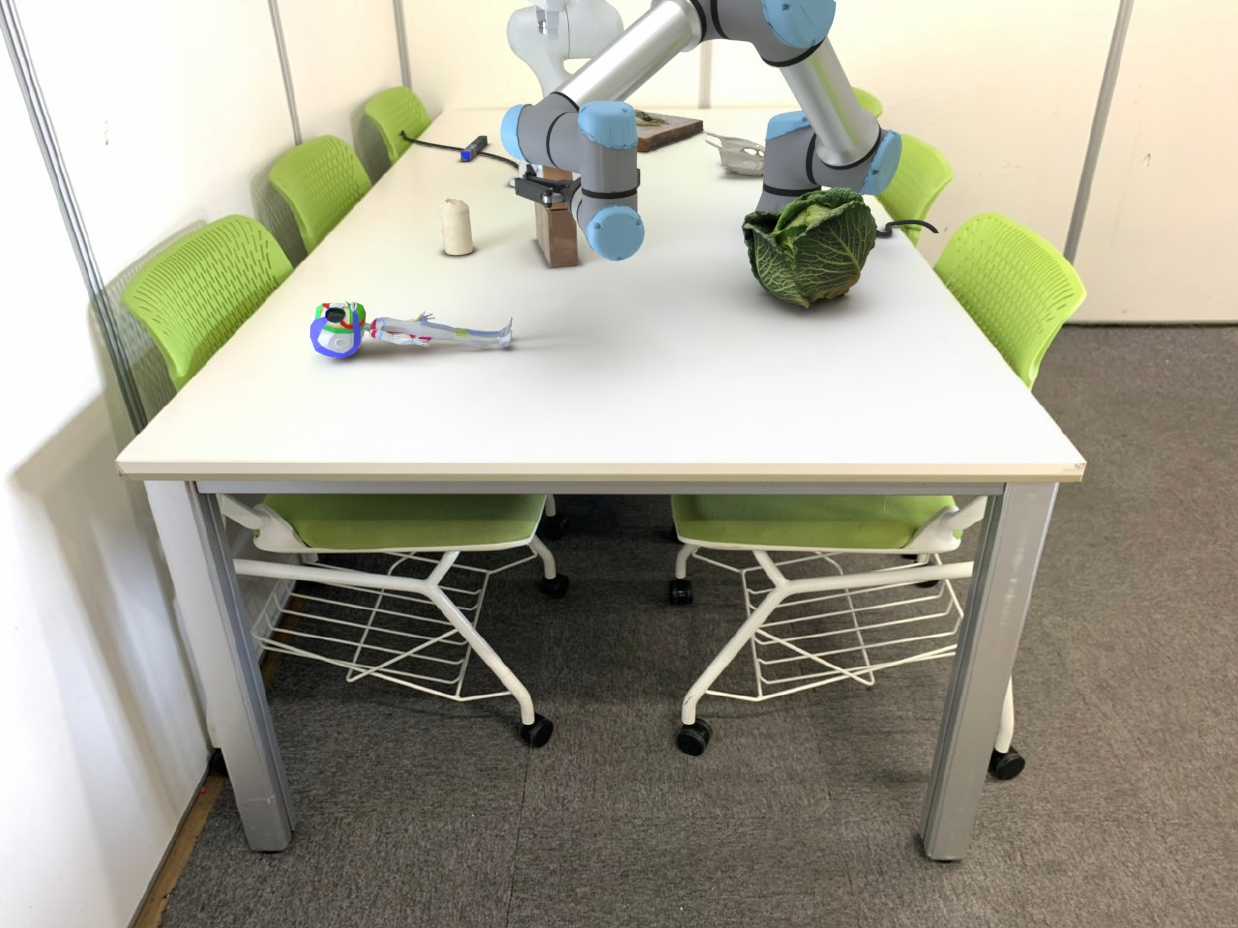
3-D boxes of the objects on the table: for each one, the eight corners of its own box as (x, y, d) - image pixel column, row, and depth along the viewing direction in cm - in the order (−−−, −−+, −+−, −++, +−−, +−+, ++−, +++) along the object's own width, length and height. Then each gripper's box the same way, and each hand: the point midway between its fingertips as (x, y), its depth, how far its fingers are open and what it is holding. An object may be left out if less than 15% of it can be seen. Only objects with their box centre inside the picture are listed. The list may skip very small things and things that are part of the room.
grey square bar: (487, 135, 252) (468, 152, 235) (487, 143, 253) (469, 161, 236) (479, 135, 252) (460, 152, 235) (480, 143, 253) (461, 161, 236)
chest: (537, 241, 181) (533, 189, 175) (562, 238, 182) (560, 187, 176) (550, 267, 168) (547, 213, 162) (578, 265, 169) (576, 210, 163)
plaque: (647, 125, 237) (559, 112, 252) (647, 153, 241) (560, 139, 256) (706, 107, 258) (622, 97, 273) (705, 133, 262) (622, 121, 277)
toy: (513, 328, 132) (301, 311, 127) (509, 379, 136) (304, 364, 132) (513, 302, 141) (314, 285, 136) (509, 351, 145) (317, 336, 140)
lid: (535, 116, 160) (541, 101, 152) (564, 114, 161) (571, 99, 153) (546, 210, 162) (553, 201, 154) (575, 208, 163) (583, 199, 155)
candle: (478, 247, 177) (472, 197, 172) (465, 256, 173) (459, 205, 168) (453, 245, 179) (447, 194, 174) (439, 254, 174) (433, 202, 169)
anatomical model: (707, 129, 226) (808, 127, 222) (707, 166, 231) (805, 165, 227) (703, 143, 213) (809, 141, 210) (703, 182, 218) (807, 181, 215)
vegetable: (769, 324, 161) (717, 226, 153) (855, 264, 162) (809, 164, 154) (822, 342, 142) (766, 232, 135) (919, 274, 144) (869, 162, 136)
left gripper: (573, -56, 137) (577, 43, 145) (551, -60, 154) (556, 29, 162) (532, -55, 136) (538, 45, 143) (515, -59, 153) (521, 30, 160)
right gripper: (513, 237, 131) (496, 198, 148) (677, 223, 136) (642, 186, 153) (508, 186, 127) (492, 151, 144) (678, 173, 132) (642, 141, 149)
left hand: (547, 36), depth 153 cm, fingers open, 8 cm apart
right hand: (569, 169), depth 149 cm, fingers open, 13 cm apart
